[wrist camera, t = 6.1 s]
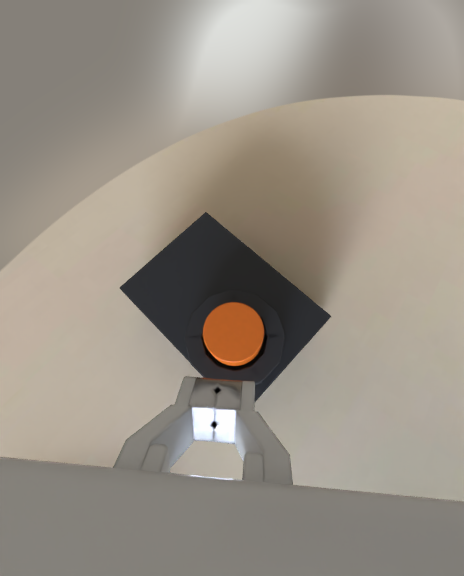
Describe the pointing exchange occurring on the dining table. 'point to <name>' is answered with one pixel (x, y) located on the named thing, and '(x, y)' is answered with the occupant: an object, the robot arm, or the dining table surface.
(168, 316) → the button base
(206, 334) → the orange push button
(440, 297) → the dining table surface
